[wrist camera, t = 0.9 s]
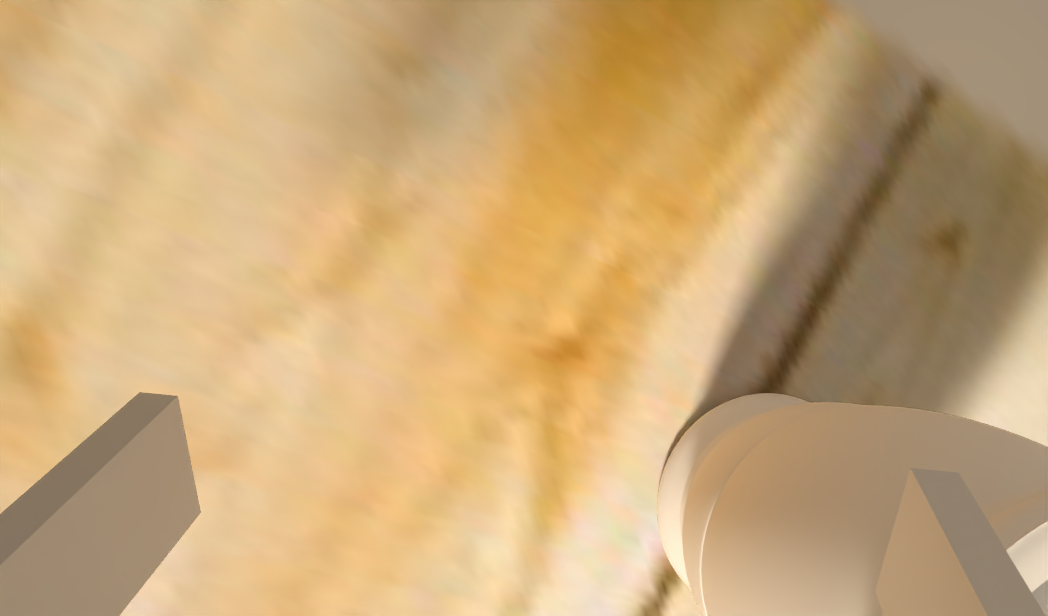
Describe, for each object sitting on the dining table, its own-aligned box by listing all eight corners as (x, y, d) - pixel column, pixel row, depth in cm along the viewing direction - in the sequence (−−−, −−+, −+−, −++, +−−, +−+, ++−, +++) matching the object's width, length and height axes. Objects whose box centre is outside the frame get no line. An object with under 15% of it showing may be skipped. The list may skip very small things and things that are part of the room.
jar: (931, 505, 30) (1448, 748, 16) (744, 689, 29) (1102, 1129, 15) (774, 306, 28) (1191, 367, 14) (568, 496, 28) (779, 780, 13)
